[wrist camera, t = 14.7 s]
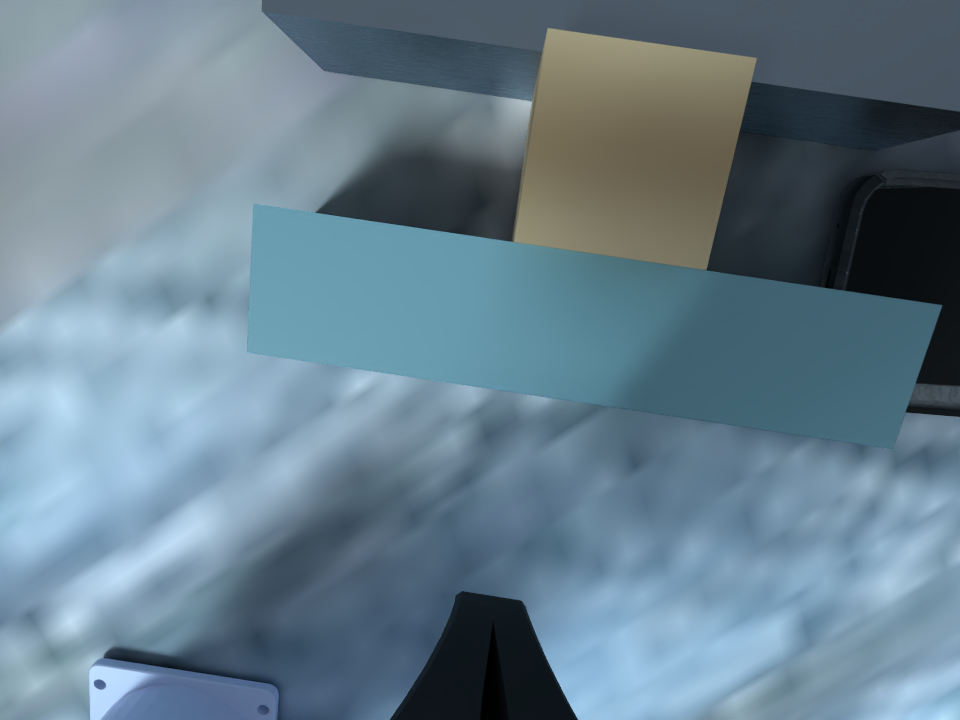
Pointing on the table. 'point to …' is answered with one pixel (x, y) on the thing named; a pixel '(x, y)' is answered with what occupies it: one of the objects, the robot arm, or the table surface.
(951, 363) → the phone
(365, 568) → the table surface
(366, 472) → the table surface
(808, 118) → the vise
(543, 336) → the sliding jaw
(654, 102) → the oak block
